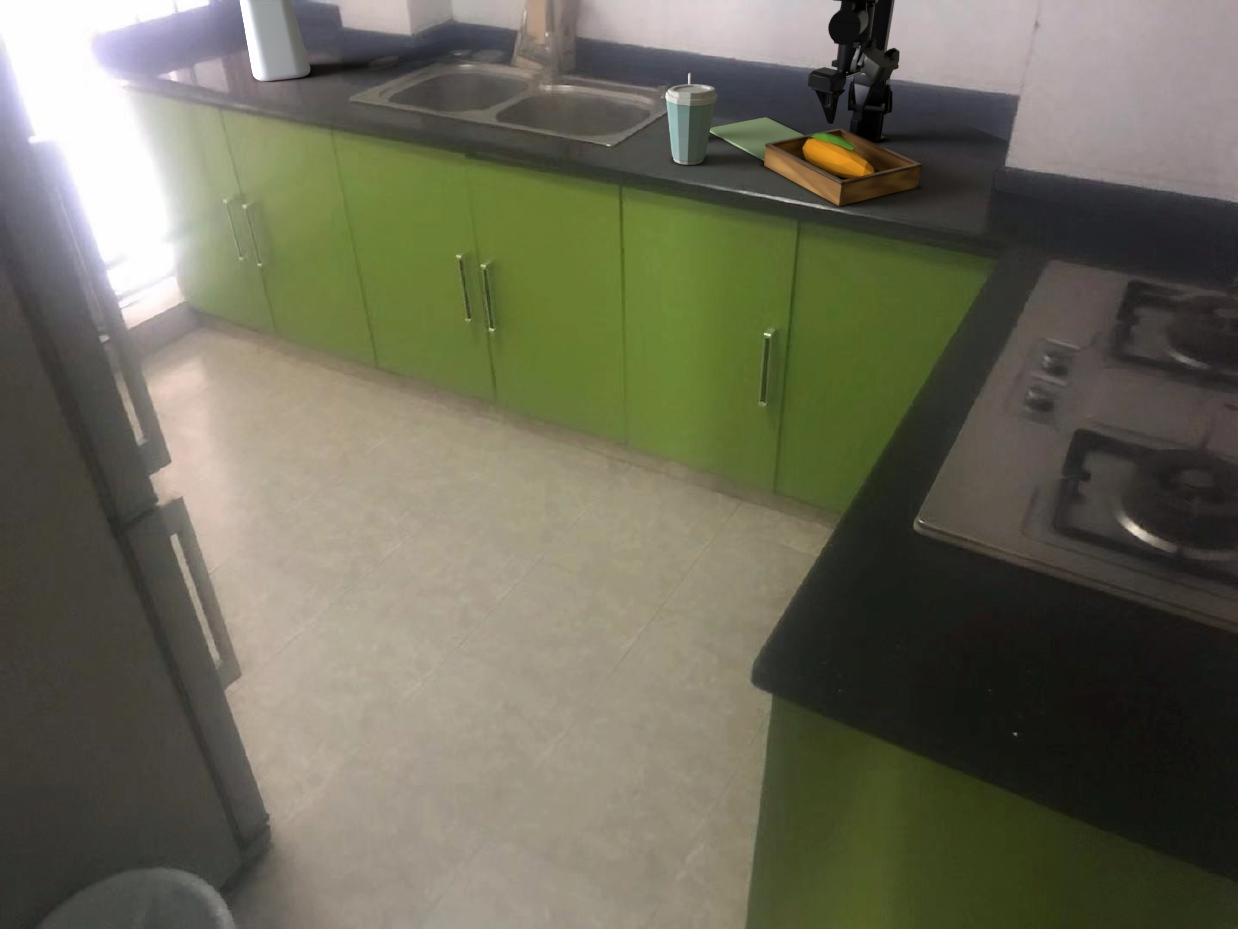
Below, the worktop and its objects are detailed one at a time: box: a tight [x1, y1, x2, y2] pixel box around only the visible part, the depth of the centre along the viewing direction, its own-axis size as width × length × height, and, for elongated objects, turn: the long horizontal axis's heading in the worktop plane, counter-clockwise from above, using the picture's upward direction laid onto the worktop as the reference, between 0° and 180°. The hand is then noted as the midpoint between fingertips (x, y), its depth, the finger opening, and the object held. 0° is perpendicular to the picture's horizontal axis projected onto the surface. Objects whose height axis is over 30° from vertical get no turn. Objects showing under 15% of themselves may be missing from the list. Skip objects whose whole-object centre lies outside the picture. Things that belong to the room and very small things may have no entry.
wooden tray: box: [763, 127, 922, 207], centre depth 190 cm, size 19×25×5 cm
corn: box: [803, 132, 875, 179], centre depth 189 cm, size 7×8×20 cm
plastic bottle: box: [239, 0, 311, 82], centre depth 253 cm, size 15×15×28 cm
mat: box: [710, 116, 806, 162], centre depth 209 cm, size 16×24×1 cm, turn 27°
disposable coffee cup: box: [664, 83, 719, 166], centre depth 196 cm, size 11×11×15 cm
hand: (845, 117), depth 184 cm, fingers open, 9 cm apart
